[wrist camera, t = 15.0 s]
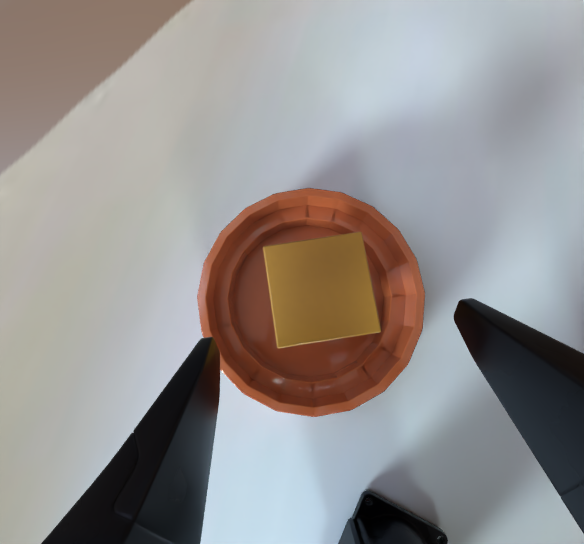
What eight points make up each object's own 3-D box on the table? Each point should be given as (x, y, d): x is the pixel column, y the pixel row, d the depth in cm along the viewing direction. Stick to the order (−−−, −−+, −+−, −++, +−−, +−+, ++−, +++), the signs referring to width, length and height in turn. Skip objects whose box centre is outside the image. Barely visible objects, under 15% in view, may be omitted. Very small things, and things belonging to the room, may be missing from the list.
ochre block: (330, 266, 22) (361, 230, 12) (340, 322, 21) (382, 332, 11) (276, 275, 22) (262, 245, 12) (284, 331, 21) (277, 348, 11)
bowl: (429, 256, 23) (457, 245, 19) (354, 431, 21) (368, 460, 17) (267, 181, 24) (261, 155, 20) (181, 341, 22) (156, 348, 18)
